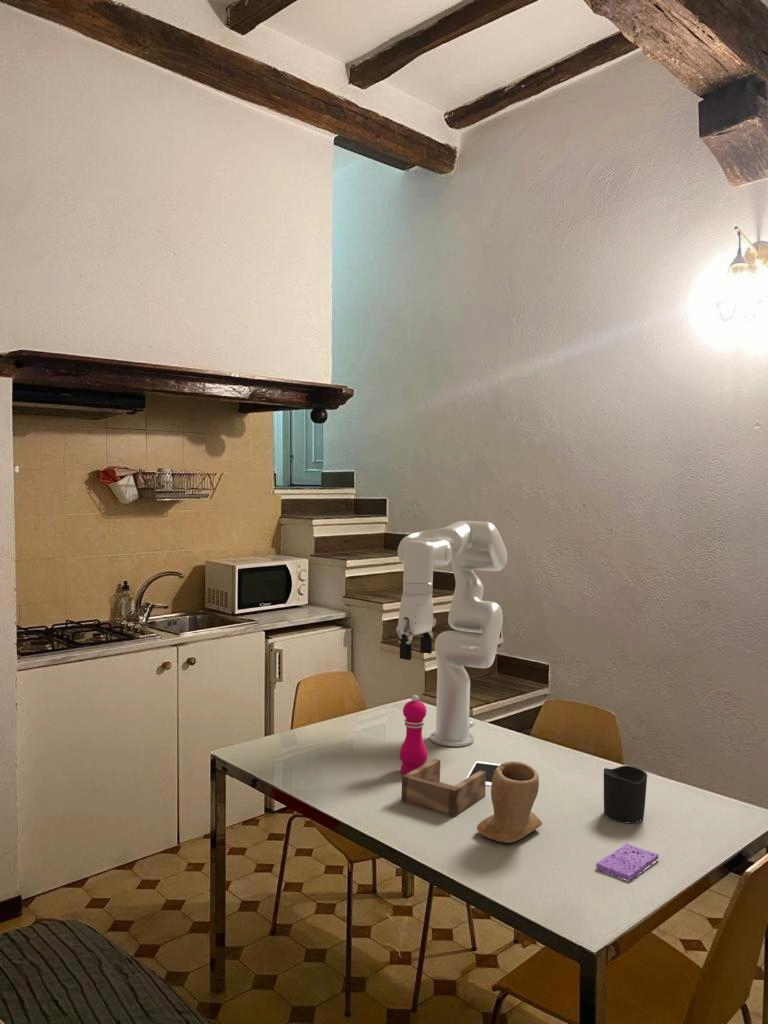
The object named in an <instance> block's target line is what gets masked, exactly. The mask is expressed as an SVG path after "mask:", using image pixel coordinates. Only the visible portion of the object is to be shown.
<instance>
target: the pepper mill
mask: <svg viewBox="0 0 768 1024" xmlns="http://www.w3.org/2000/svg"><path fill="white" fill-rule="evenodd" d="M402 714H403V716H404V726H405V727H406V735H405V738H404V741H403V743H402V745H401V747H400V750H399V754H398V756H399V760H400V761H401V764H400V772H401V774H402V776H404V775H406V774H407V773H409V772H411V771H413V770H415V769H417V768H419V767H421V766H423V765H425V764H426V763H427V760H428V758H429V757H428V750H427V748H426V747H427V746H426V744H425V742H424V739H423V728H424V726H425V724H424V723H425V720H424V719H425V717H426V716H427V707H426V705H425V704H424V702H422V701H419V695H417V694H413V695H412V696H411V700H409V701H408V702H406V703H405V704H404V705H403V708H402Z"/></svg>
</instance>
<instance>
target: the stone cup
mask: <svg viewBox="0 0 768 1024" xmlns="http://www.w3.org/2000/svg"><path fill="white" fill-rule="evenodd" d="M500 764H501V765H499V766H498V767H497V768H496V770H495V772H494V774H493V778H492V784H491V786H490V796H491V797H490V799H491V803H492V808H493V814H492V815H490V816H487V817H486V818H485V819H483V820H481V821H480V822H479V823H478V824H477V825H476V829H477V832H478V833H480V834H481V835H482V836H484V837H486V838H488V839H489V840H493V841H496V842H500V843H506V844H510V843H511V844H512V843H513V842H517V841H519V840H521V839H523V838H525V837H526V836H527V835H530V834H531V833H532V832H534V831H535V830H537V829H539V828H540V827H541V826H542V825H543V822H542V821H541V819H540V818H539V817H538V816H537V815H536V814H535V813H534V812H532V808H533V806H534V803H535V801H536V798H537V797H538V794H539V788H540V787H539V786H540V777H539V773H538V772H537V770H536V769H535V768H534V767H533V766H531V765H529V764H528V763H524V762H522V761H505V762H503V763H500Z"/></svg>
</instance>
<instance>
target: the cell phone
mask: <svg viewBox="0 0 768 1024" xmlns="http://www.w3.org/2000/svg"><path fill="white" fill-rule="evenodd" d="M501 764H502V763H493V762H487V761H479V760H478V761H477V760H476V761H474V764H473V766H472V767H471V769H470V770H469V772H468V775H467V776H466V778H465V779H467V778H468V777H470V776H472V775H473V774H475V773H477V772H478V771H480V770H481V771H485V772H486V784H485V787H491V784H492V778H493V774H494V772H495V770H496V768H497V767H498V766H499V765H501Z"/></svg>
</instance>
